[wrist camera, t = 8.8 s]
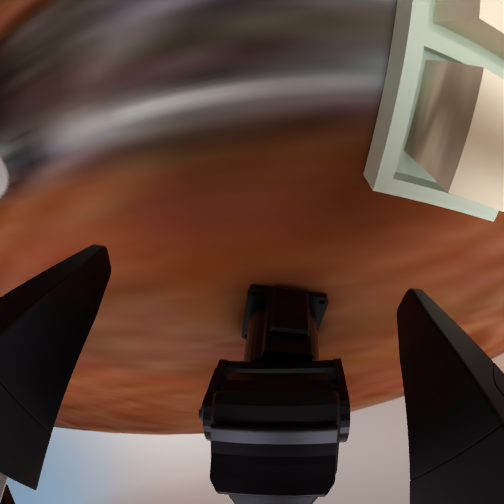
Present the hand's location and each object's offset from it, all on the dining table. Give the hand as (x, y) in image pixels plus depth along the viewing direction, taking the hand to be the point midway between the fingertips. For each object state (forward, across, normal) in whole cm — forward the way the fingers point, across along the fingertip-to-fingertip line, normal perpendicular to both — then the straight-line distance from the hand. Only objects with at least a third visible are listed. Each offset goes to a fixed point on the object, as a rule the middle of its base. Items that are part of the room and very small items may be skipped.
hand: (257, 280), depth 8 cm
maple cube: (+11, -11, -5) cm, 16 cm away
